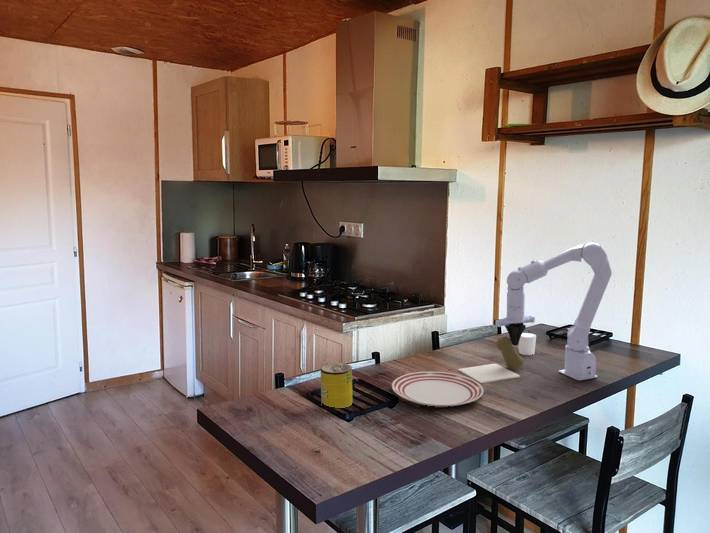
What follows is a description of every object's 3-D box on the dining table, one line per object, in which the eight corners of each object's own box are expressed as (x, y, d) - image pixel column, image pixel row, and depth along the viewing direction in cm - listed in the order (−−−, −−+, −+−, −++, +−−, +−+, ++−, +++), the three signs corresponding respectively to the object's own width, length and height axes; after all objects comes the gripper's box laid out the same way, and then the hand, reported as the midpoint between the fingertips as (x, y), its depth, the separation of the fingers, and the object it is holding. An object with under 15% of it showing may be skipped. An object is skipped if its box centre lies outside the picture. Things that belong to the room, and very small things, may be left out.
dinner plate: (485, 383, 176) (485, 373, 176) (481, 418, 150) (481, 406, 150) (401, 377, 183) (400, 367, 183) (383, 409, 157) (382, 398, 157)
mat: (520, 377, 180) (520, 375, 180) (481, 383, 175) (481, 382, 175) (495, 364, 194) (495, 363, 193) (458, 370, 188) (458, 368, 188)
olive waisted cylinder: (521, 355, 191) (507, 331, 188) (525, 364, 186) (511, 340, 182) (505, 362, 193) (491, 339, 189) (509, 372, 187) (495, 348, 184)
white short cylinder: (513, 351, 209) (513, 333, 208) (528, 349, 211) (529, 331, 210) (523, 356, 202) (524, 338, 201) (539, 354, 204) (540, 336, 203)
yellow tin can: (346, 399, 165) (345, 361, 163) (357, 410, 156) (356, 370, 155) (317, 404, 162) (316, 365, 160) (327, 416, 153) (326, 374, 151)
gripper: (525, 301, 192) (524, 339, 194) (490, 305, 187) (489, 344, 189) (539, 305, 186) (538, 344, 188) (502, 309, 181) (502, 349, 183)
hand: (514, 344), depth 188 cm, fingers closed
